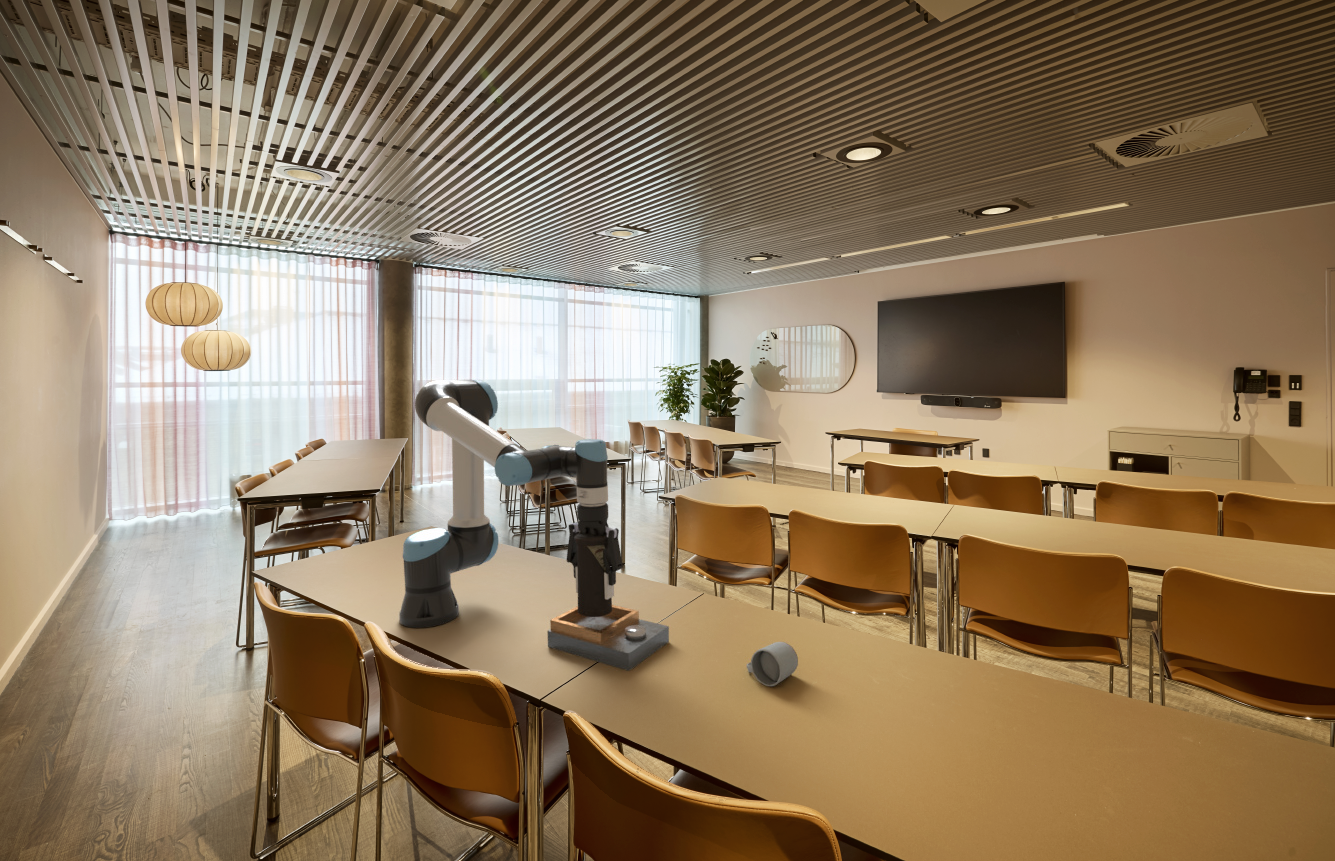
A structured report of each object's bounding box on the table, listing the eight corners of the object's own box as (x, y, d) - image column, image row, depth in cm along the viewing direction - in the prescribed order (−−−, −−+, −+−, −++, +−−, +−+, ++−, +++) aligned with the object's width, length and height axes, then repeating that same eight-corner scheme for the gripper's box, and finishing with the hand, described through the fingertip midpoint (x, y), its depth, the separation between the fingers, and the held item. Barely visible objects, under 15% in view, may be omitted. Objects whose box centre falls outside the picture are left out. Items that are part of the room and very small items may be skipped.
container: (607, 619, 145) (605, 537, 143) (571, 616, 146) (569, 535, 145) (617, 605, 153) (615, 527, 151) (583, 603, 155) (581, 526, 153)
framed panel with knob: (547, 646, 147) (547, 620, 147) (592, 622, 162) (591, 598, 161) (628, 670, 135) (628, 642, 134) (668, 641, 149) (668, 616, 149)
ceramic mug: (800, 676, 131) (800, 642, 131) (780, 691, 125) (780, 655, 125) (759, 662, 138) (758, 629, 138) (738, 676, 132) (738, 641, 132)
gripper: (549, 501, 150) (552, 591, 152) (618, 510, 139) (620, 607, 141) (569, 496, 156) (572, 582, 158) (637, 504, 145) (638, 596, 147)
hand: (594, 594), depth 149 cm, fingers closed on container, 8 cm apart
